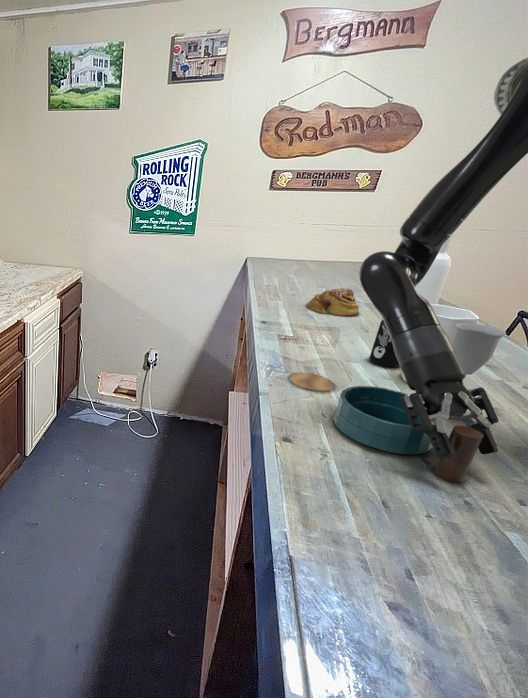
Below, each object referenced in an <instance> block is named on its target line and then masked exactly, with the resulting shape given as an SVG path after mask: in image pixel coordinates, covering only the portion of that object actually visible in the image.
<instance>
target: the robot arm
mask: <svg viewBox="0 0 528 698" xmlns="http://www.w3.org/2000/svg"><path fill="white" fill-rule="evenodd" d="M493 102H494V106H495V108H496V111H497V112H498V114H499V115H500V116H499V117H498V119H497V120H496V122H495V123H494V124H493V125H492V126H491V128H490V129H489V130H488V131H487V133H486V134H485V135H484V136H483V137H482V139H480V141H479V142H478V143H477V144H476V145H475V146H474V147H473V149H472V150H471V151H469V152H468V153H467V154H466V155H465V156H464V157H463V158H462V159H461V160H459V162H458V163H457V164H456V165H454V166H453V167H452V168H451V169H450V170H449V171H448V172H447V173H446V174H444V175H443V177H442V178H441V179H440V180H438V181H437V182H436V183H435V184H434V186H432V188H431V189H430V190H428V192H427V193H426V194H425V195H424V197H423V198H422V199H420V201H419V203H418V204H417V205H416V207H415V208H414V209H413V210H412V212H411V213H410V214H409V215H408V217H406V218H405V220H404V222H403V223H402V224H401V226H400V228H399V235H400V237H401V241H400V242H399V244H398V245H397V248H396V249H395V250H394V252H393V251H389V250H388V251H387V250H381V251H376V252H374V253H372V254H370V255H368V256H367V257H366V258H365V259H364V260H363V261H362V263H361V264H360V267H359V272H358V277H359V282H360V285H361V287H362V289H363V291H364V293H365V295H366V296H367V298H368V299H369V300H370V302H371V303H372V305H373V306H374V308H375V309H376V311H377V312H378V313H379V315H380V317H381V318H382V320H384V323H385V326H386V329H387V331H388V333H389V336H390V338H391V341H392V344H393V348H394V352H395V355H396V357H397V360H398V362H399V367H400V370H401V373H402V372H403V374H404V377H405V379H406V381H407V382H406V381H405V382H406V384H407V386H408V388H409V389H410V390H411V391H415V392H412V393H410V394H409V393H408V395H406V396H404V397H401V398H400V401H401V403H402V406H403V408H404V410H405V413H406V415H407V417H408V420H409V422H410V425H411V427H412V429H413V431H414V432H416V433H418V432H421V433H424V434H425V435H427V436H428V437H429V439H430V441H431V444H432V446H433V447H432V449H433V452H434V453H435V454H436V456H437V457H438V458H439V460H440V459H446V458H451V457H455V452H454V450H453V447H452V445H451V443H450V440H449V436H448V434H447V432H445V427H446V422H447V421H448V420H449V418H451V417H454V418H453V419H455V420H457V421H458V422H462V423H463V424H465V426H466V427H470V428H473V429H475V430H478V431H479V432H481V433H482V434H483V438H482V440H481V443H480V445H479V447H478V449H477V450H478V451H479V453H480V454H482V455H489V454H495V453H498V451H499V449H498V445H497V442H496V440H495V438H494V436H493V434H492V431H491V429H490V428H491V427H492V426H493V425H494V424H497V423H499V417H498V415H497V413H496V411H495V409H494V407H493V404H492V402H491V400H490V398H489V396H488V394H487V391H486V390H485V388H484V387H482V386H479V387H477V388H472V389H468V388H467V387H466V386H465V385H464V384H463V383H464V382H463V383H462V380H463V381H464V379H465V378H466V377H467V375H466V374H465V372H464V370H463V368H462V366H461V364H460V361H459V359H458V357H457V355H456V353H455V351H454V349H453V346H452V344H451V342H450V340H449V338H448V336H447V335H446V333H445V332H444V331H443V329H442V327H441V326H440V323H439V321H438V319H437V317H436V315H435V312H434V310H433V308H432V306H431V305H430V303H429V302H428V301H427V300H426V299H425V298H423V297H422V296H421V295H419V294H418V292H417V291H416V289H415V286H416V285H417V284H418V283H419V282H420V281H421V280H422V279H423V278H424V276H425V275H426V273H427V272H428V270H429V268H430V267H431V265H432V263H433V262H434V260H435V258H436V257H437V255H438V253H439V251H440V249H441V247H442V245H443V244H444V243H445V242H446V241H447V240H448V238H449V237H450V235H452V234H453V233H454V234H455V232H456V231H457V230H458V228H459V227H460V226H461V225H462V224H463V223H464V221H466V219H467V218H468V217H469V215H470V214H471V213H472V212H474V210H475V209H476V207H478V205H479V204H480V203H481V202H482V201H483V200H484V198H485V197H487V195H488V194H489V193H490V192H491V191H492V190H493V189H494V187H496V185H498V183H500V182H501V180H502V179H503V178H504V177H506V176H507V174H508V173H509V172H510V171H511V170H512V169H513V168H514V167H516V165H517V164H518V163H519V162H520V161H521V160H523V158H524V157H525V156H526V155H527V154H528V57H526V58H523V59H521V60H520V61H518V62H515V64H513V65H512V66H511V67H509V68H508V69H507V70H506V71H505V72H504V73H503V74H502V75H501V77H500V78H499V79H498V81H497V84H496V86H495V88H494V93H493ZM454 234H453V235H454ZM482 411H484V413H485V414H486V416H484V414H483V412H482ZM417 416H419V418H420V420H421V422H422V423H421V424H419V421H418V419H417ZM474 420H475V421H474ZM434 424H435V425H434Z"/></svg>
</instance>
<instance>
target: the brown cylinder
mask: <svg viewBox="0 0 528 698" xmlns="http://www.w3.org/2000/svg"><path fill="white" fill-rule="evenodd" d="M448 438H449V440H450V443H451V445H452V447H453V450H454V452H455V457H451V458H446V459H440V458H439V460H438V462H437V465H436V467H435V469H434V474H436V476H438V477H439V478H441V479H443V480H445V481H447V482H451V483H456V484H457V483H459V484H460V483H462V482H464V479H465V477H466V475H467V473H468V471H469V469H470V467H471V464H472V462H473V461H474V458H475V455H476V454H477V451H478V450H479V449H478V447H479V445H480V443H481V440H482V438H483V434H482V433H481V432H479V431H478V430H475V429H473V428H470V427H468V426H467V425H454V426H453V427H452V429H451V431H450V434H449V436H448Z"/></svg>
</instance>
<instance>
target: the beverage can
mask: <svg viewBox="0 0 528 698" xmlns="http://www.w3.org/2000/svg"><path fill="white" fill-rule="evenodd" d="M369 359H370V361H371V363H372V364H374V365H376V366H379V367H383V368H389V369H391V368H392V369H393V368H397V367H400V365H399V362H398V360H397V357H396V355H395V352H394V348H393V344H392V341H391V338H390V336H389V333H388V331H387V329H386V326H385V323H384V320H383V319H382V320H381V321H380V322H379V326H378V329H377V333H376V336H375V339H374V342H373V345H372V348H371V352H370V355H369Z"/></svg>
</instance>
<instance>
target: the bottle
mask: <svg viewBox="0 0 528 698" xmlns="http://www.w3.org/2000/svg"><path fill="white" fill-rule="evenodd" d="M454 234H455V232H454V233H453V234H452V235H450V237H449V238H448V240H447V241H446V242H445V243H444V244H443V245H442V247H441V249H440V251H439V253H438V255H437V257H436V258H435V260H434V262H433V263H432V265H431V267H430V268H429V270H428V272H427V273H426V275H425V276H424V278H423V279H422V280H421V281H420V282H419V283H418V284H417V285H416V286H415V289H416V291H417V292H418V294H419V295H421V296H422V297H423V298H425V299H426V300H427V301H428V302H429V303H430V304H438V305H439V301H440V298H441V296H442V293H443V289H444V288H445V285H446V281H447V279H448V276H449V273H450V271H451V268H452V258H451V257H450V255H449V254H448V253H447V252H448V249H449V247H450V243H451V241H452V238H453V235H454Z"/></svg>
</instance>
